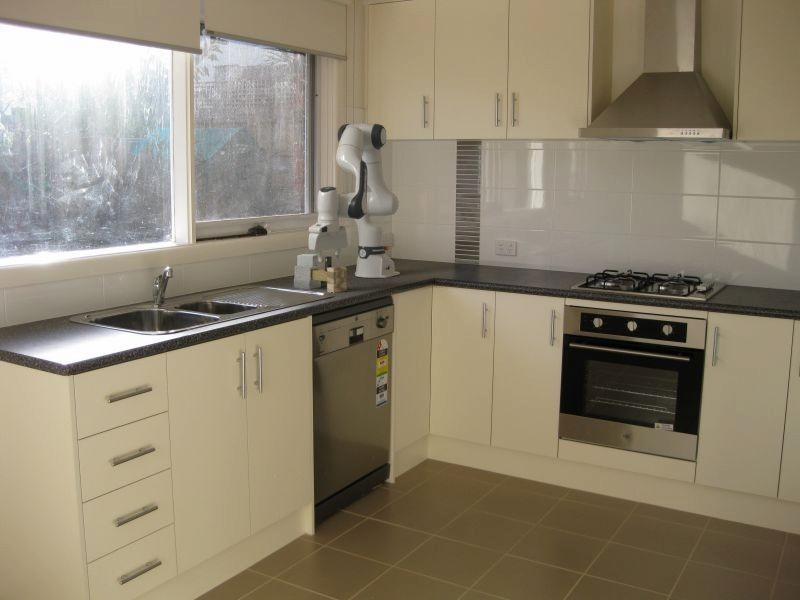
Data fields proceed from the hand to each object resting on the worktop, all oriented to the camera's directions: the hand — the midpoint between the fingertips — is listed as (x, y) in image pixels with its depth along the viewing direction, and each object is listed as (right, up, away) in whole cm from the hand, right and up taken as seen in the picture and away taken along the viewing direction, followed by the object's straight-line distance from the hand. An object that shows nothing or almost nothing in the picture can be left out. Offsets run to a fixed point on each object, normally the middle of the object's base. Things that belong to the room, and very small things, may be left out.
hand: (328, 260), depth 359 cm
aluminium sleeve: (-10, -11, +9) cm, 17 cm away
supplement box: (-11, -9, +21) cm, 26 cm away
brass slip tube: (-2, -8, +2) cm, 9 cm away
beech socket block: (+3, -13, -1) cm, 13 cm away
